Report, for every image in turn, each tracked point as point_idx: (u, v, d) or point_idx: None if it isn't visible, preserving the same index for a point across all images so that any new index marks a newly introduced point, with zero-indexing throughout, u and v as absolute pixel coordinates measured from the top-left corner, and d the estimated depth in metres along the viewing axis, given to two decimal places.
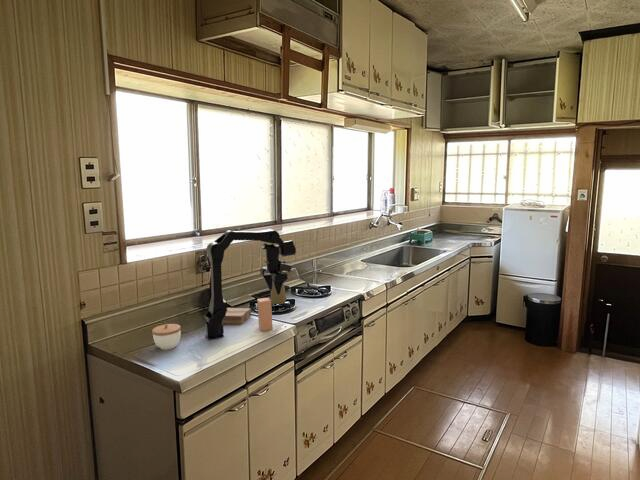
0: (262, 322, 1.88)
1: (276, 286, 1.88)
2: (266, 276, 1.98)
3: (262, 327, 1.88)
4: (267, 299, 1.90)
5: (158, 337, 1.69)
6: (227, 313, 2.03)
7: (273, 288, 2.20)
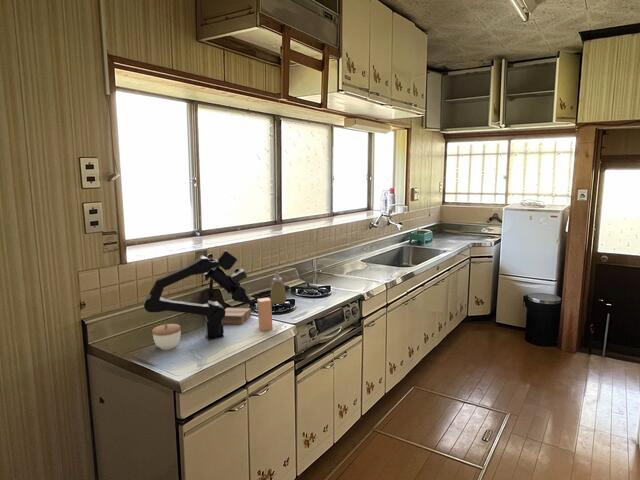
0: (262, 322, 1.88)
1: (242, 300, 1.80)
2: None
3: (262, 327, 1.88)
4: (267, 299, 1.90)
5: (158, 337, 1.69)
6: (227, 313, 2.03)
7: (273, 288, 2.20)
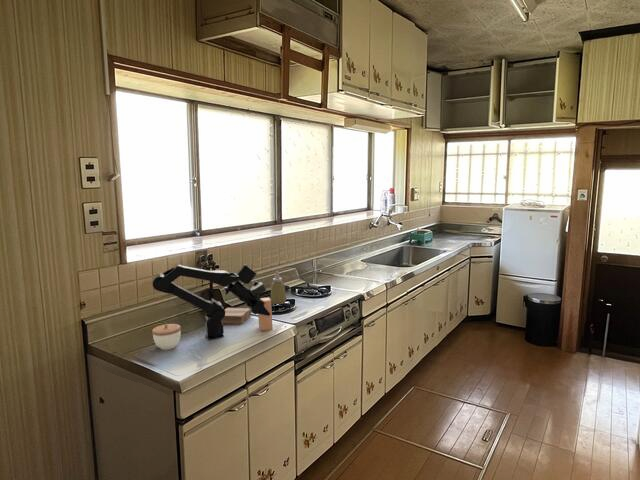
0: (262, 322, 1.88)
1: (261, 312, 1.86)
2: None
3: (262, 327, 1.88)
4: (267, 299, 1.90)
5: (158, 337, 1.69)
6: (227, 313, 2.03)
7: (273, 288, 2.20)
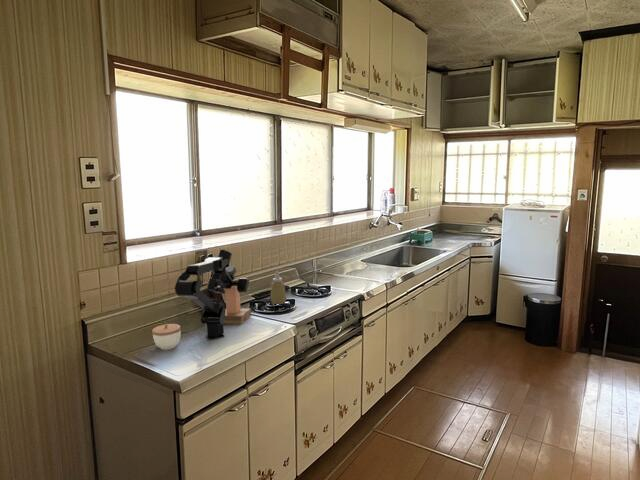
0: (236, 305, 2.02)
1: None
2: (218, 289, 2.00)
3: (237, 309, 2.02)
4: None
5: (158, 337, 1.69)
6: (227, 313, 2.03)
7: (273, 288, 2.20)
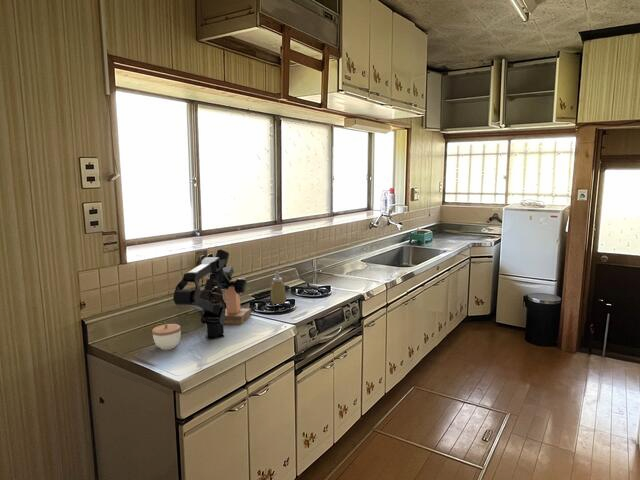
0: (237, 305, 2.02)
1: (240, 292, 1.97)
2: (215, 289, 1.97)
3: (237, 309, 2.03)
4: None
5: (158, 337, 1.69)
6: None
7: (273, 288, 2.20)
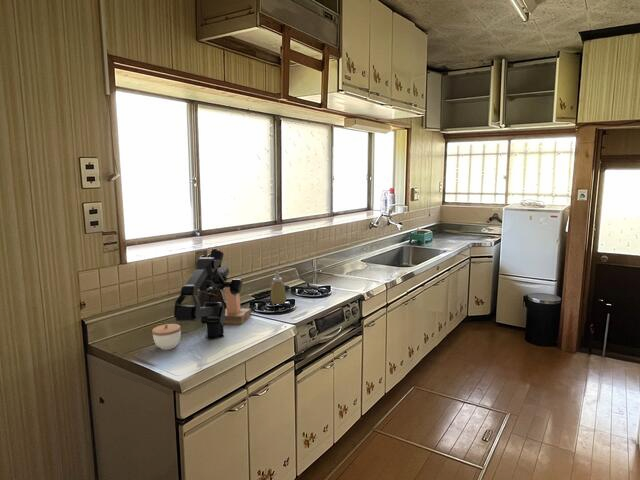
0: (237, 305, 2.02)
1: None
2: (210, 290, 1.92)
3: (237, 309, 2.03)
4: None
5: (158, 337, 1.69)
6: None
7: (273, 288, 2.20)
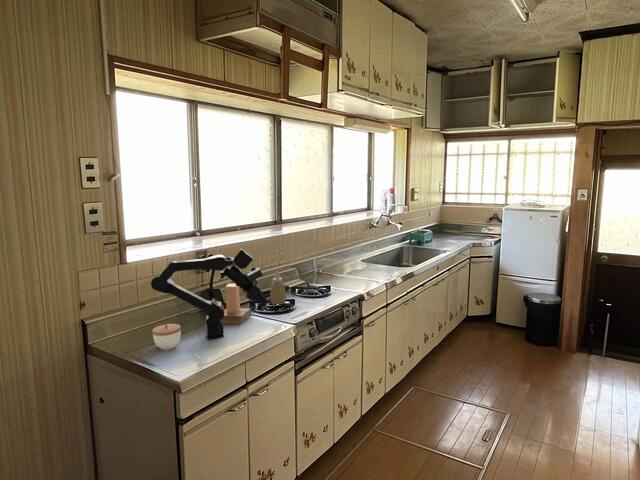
0: (237, 305, 2.02)
1: (258, 299, 1.80)
2: None
3: (237, 309, 2.02)
4: (233, 284, 2.04)
5: (158, 337, 1.69)
6: (227, 313, 2.03)
7: (273, 288, 2.20)
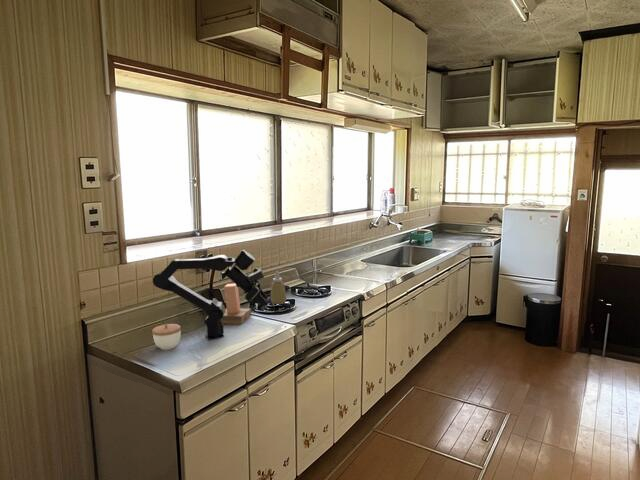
0: (237, 305, 2.02)
1: (257, 301, 1.78)
2: None
3: (237, 309, 2.03)
4: (232, 284, 2.04)
5: (158, 337, 1.69)
6: None
7: (273, 288, 2.20)
